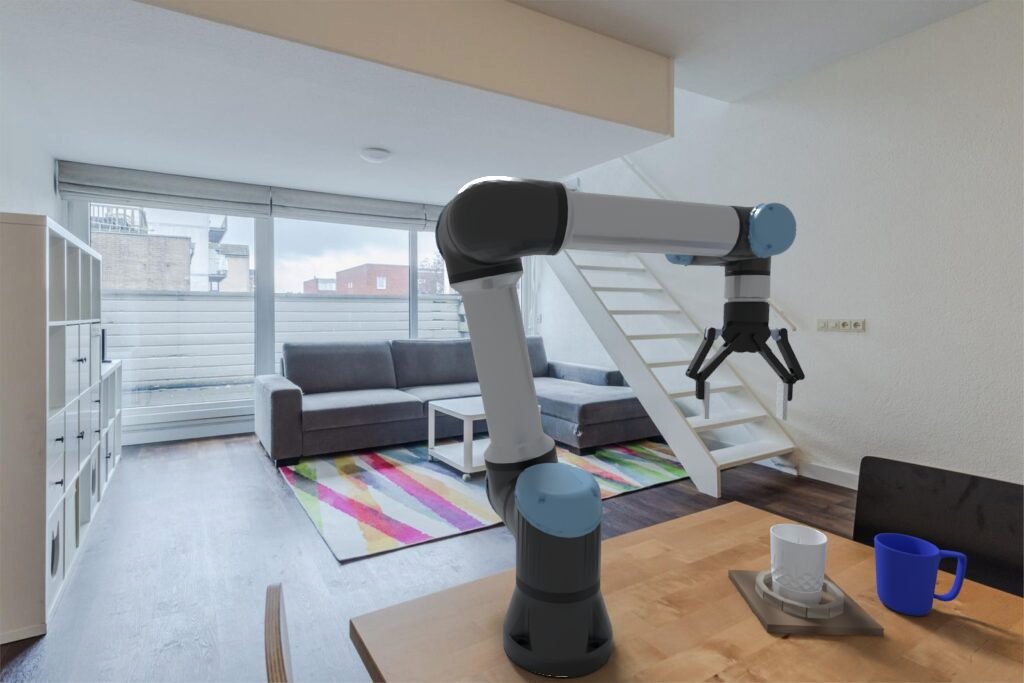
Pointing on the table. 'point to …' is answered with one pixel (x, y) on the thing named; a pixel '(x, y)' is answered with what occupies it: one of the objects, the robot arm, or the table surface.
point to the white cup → (798, 562)
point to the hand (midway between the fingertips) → (742, 418)
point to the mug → (912, 573)
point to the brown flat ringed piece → (803, 608)
